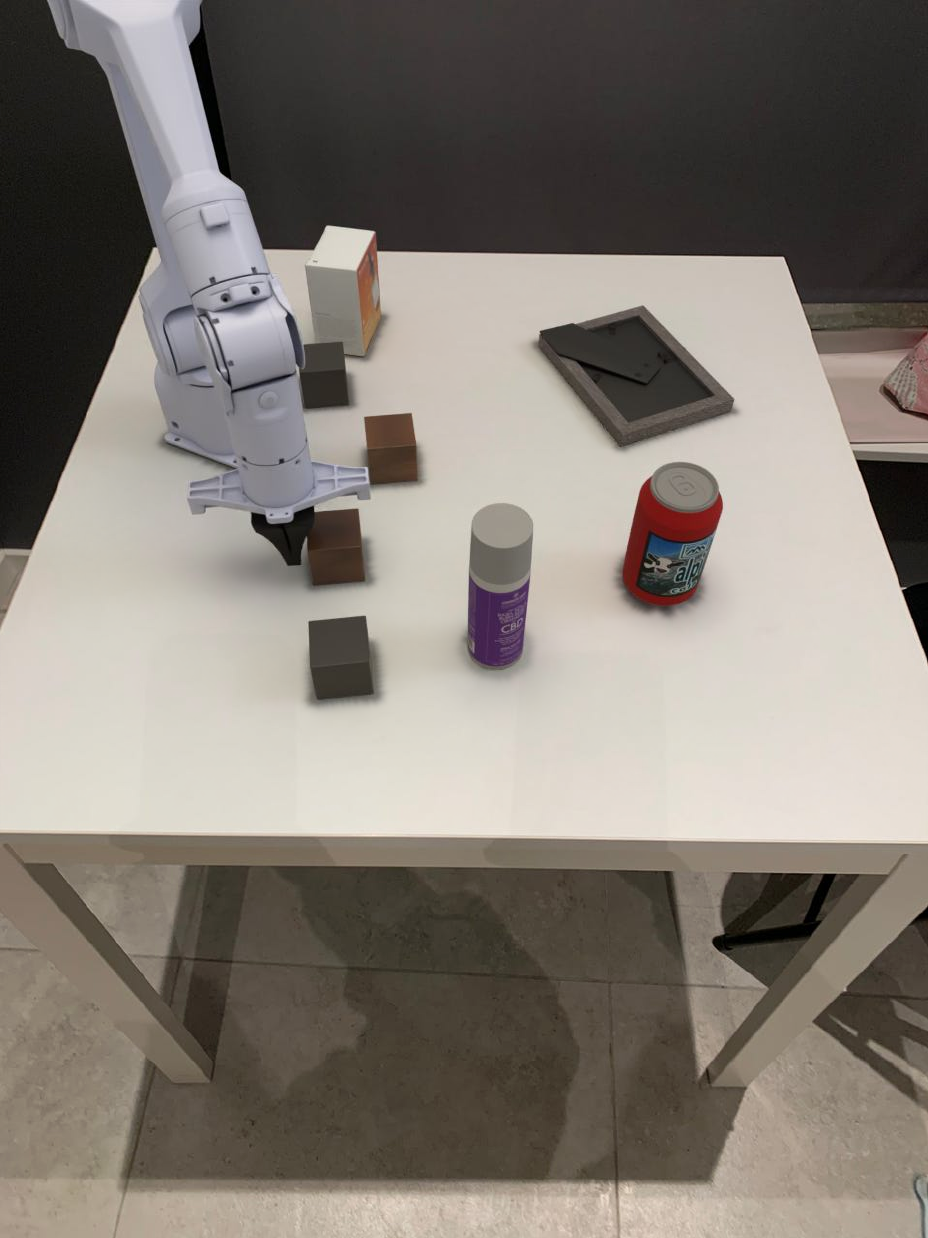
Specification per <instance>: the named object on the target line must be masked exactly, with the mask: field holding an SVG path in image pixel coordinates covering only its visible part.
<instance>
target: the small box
mask: <svg viewBox="0 0 928 1238" xmlns="http://www.w3.org/2000/svg"><path fill="white" fill-rule="evenodd" d="M377 245H378V244H377V233H376V231H374V230H368V229H361V228H352V227H344V226H343V227H342V226H334V225H326V226H325V228H324V230H323V233H322V234H321V236H320V238H319V240H318V242H317V244H316V245H315V247H314V249H313V251H312V253H311V254H310V257H309V258H308V259H307V261H306V262H305V264H304V269H305V278H306V284H307V290H308V291H307V292H308V299H309V307H310V311H311V312H310V313H311V321H312V328H313V334H314V341H315V342H314V343H315V344H316V343H330V342H343V348H344V355H350V356H358V357H365V356H366V353H367V350H368V347H369V345H370V343H371V340H372V338H373V336H374V334H375V332H376V330H377V327H378V325H379V322H380V320H381V318H382V307H381V306H382V305H381V294H380V293H381V292H380V277H379V262H378V261H379V260H378V248H377V247H378V246H377Z"/></svg>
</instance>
